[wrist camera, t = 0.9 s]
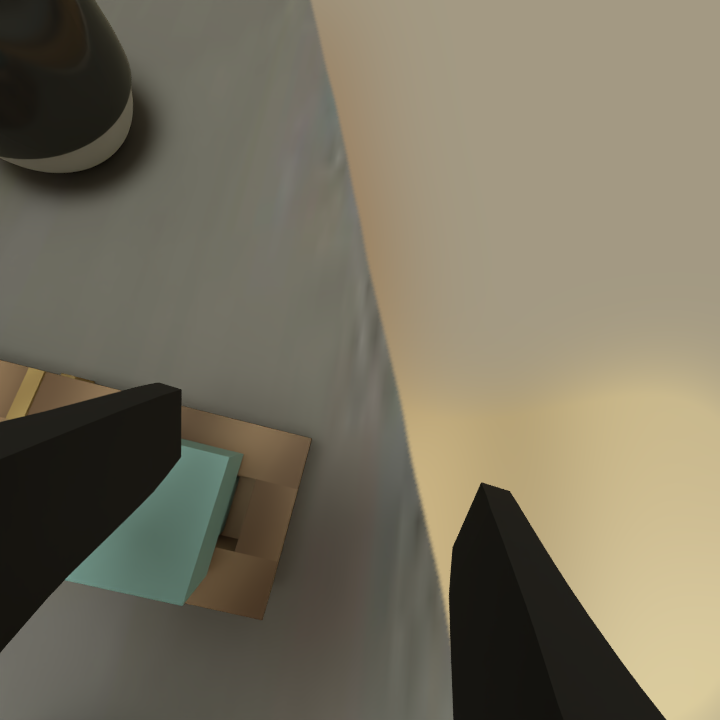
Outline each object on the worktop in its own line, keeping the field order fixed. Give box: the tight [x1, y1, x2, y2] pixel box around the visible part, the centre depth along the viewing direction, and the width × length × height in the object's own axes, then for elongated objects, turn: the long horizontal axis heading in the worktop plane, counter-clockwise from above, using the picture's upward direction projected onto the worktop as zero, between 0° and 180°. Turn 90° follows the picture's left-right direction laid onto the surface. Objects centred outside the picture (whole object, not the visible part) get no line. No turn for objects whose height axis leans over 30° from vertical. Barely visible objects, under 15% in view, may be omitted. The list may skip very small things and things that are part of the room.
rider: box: [65, 439, 244, 606], centre depth 16 cm, size 4×5×5 cm
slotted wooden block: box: [0, 360, 312, 620], centre depth 17 cm, size 24×8×6 cm, turn 76°
